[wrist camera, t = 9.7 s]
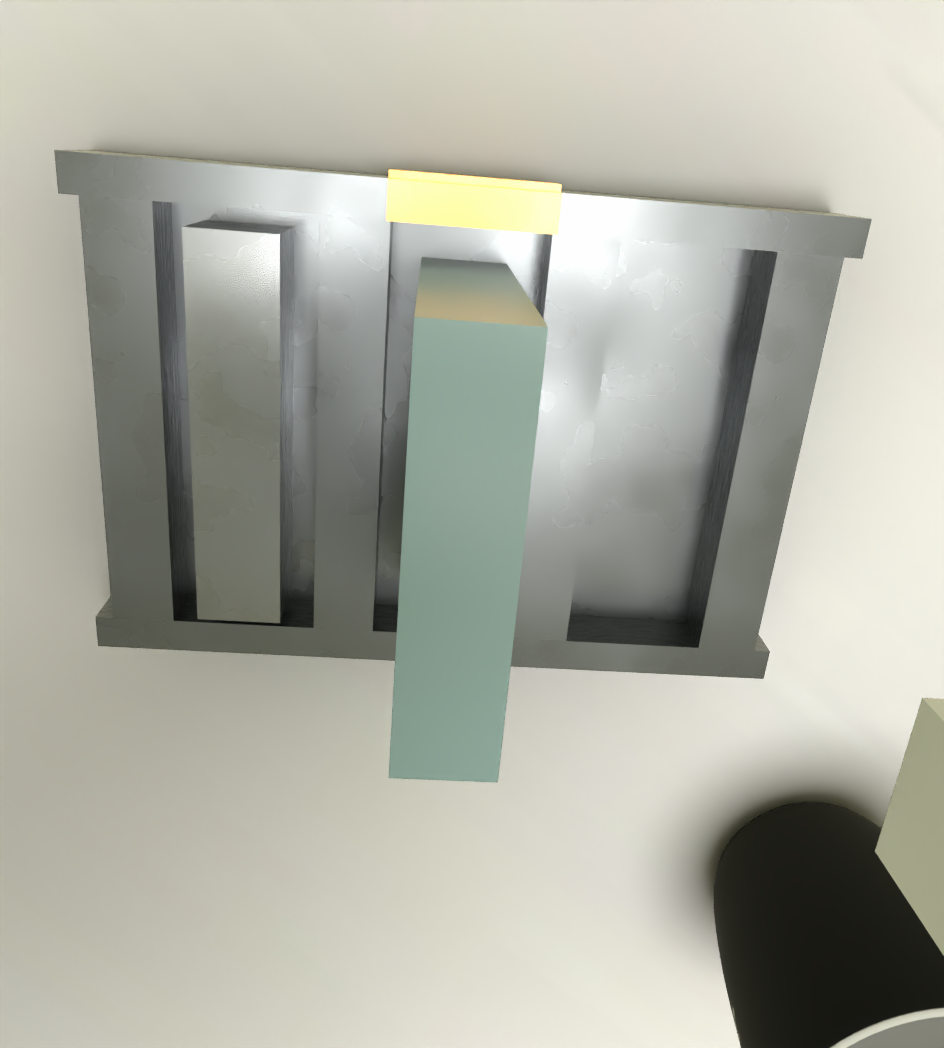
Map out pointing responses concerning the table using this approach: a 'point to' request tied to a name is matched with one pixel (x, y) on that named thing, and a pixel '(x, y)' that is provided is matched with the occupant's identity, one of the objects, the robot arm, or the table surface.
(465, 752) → the block
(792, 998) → the mug
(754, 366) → the rack
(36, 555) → the table surface
